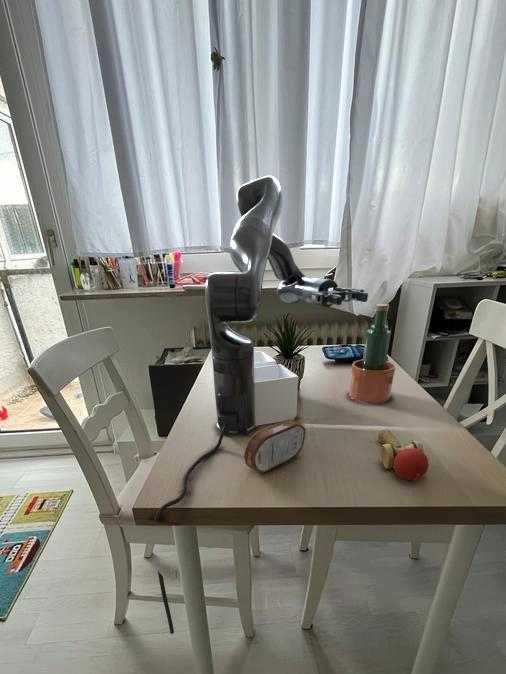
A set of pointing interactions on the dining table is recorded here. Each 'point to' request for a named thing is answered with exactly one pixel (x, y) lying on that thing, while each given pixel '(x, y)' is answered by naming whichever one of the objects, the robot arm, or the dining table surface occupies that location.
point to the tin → (274, 445)
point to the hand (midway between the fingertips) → (353, 299)
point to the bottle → (377, 341)
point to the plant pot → (371, 383)
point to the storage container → (273, 390)
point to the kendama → (403, 457)
